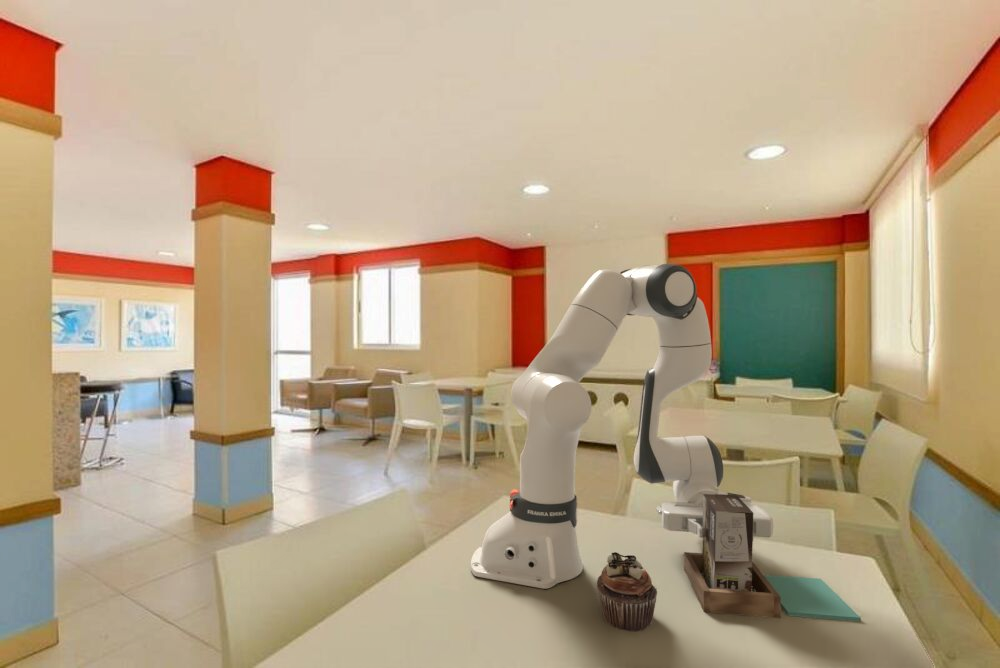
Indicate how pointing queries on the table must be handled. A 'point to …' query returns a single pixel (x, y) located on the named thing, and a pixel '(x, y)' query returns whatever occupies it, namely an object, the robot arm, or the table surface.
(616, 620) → the cupcake
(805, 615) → the teal mat
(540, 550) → the robot arm
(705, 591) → the walnut bin
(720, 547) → the coffee box
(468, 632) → the table surface
